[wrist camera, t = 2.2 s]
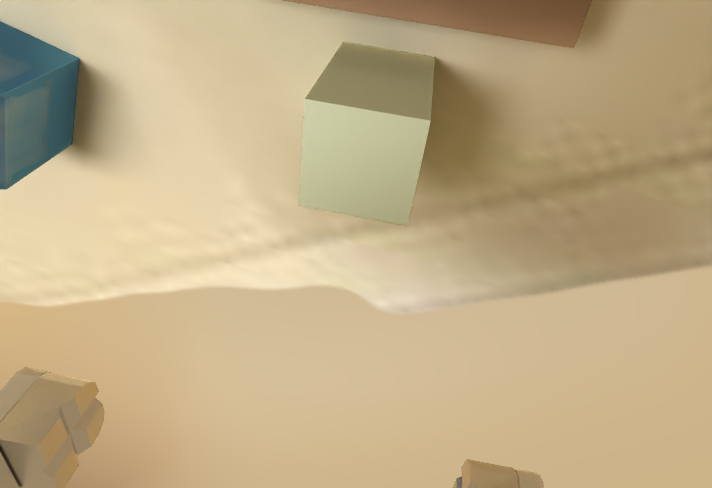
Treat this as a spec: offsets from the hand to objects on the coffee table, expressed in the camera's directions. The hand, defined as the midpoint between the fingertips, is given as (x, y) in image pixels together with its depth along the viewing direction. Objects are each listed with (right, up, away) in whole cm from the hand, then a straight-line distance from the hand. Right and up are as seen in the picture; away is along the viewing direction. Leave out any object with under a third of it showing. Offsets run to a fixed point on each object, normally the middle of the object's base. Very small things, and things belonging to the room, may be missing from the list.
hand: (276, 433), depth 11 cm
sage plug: (+3, +13, +17) cm, 22 cm away
